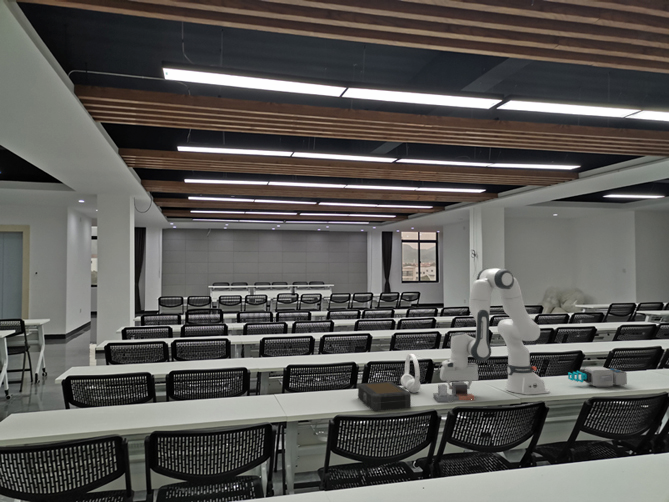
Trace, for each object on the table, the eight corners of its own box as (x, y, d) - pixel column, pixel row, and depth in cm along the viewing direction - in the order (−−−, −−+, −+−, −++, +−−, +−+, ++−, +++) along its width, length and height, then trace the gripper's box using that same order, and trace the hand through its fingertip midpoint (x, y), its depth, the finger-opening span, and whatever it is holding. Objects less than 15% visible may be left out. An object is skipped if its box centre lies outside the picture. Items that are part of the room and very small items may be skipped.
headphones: (423, 394, 248) (422, 356, 249) (409, 394, 247) (408, 357, 248) (411, 385, 268) (411, 350, 269) (398, 385, 267) (398, 351, 268)
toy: (562, 365, 273) (611, 365, 274) (562, 382, 272) (612, 382, 273) (577, 371, 256) (630, 371, 257) (578, 390, 256) (630, 389, 257)
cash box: (356, 398, 242) (356, 383, 242) (392, 395, 247) (391, 380, 248) (372, 412, 218) (372, 396, 218) (412, 408, 223) (411, 392, 224)
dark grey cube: (463, 393, 251) (463, 381, 251) (467, 396, 244) (467, 384, 244) (451, 393, 250) (451, 382, 250) (455, 396, 244) (455, 385, 244)
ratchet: (470, 397, 242) (470, 382, 243) (475, 401, 235) (475, 386, 235) (433, 398, 241) (433, 383, 241) (437, 402, 233) (437, 387, 234)
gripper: (475, 361, 251) (475, 387, 251) (439, 361, 250) (439, 387, 249) (480, 364, 245) (480, 390, 244) (442, 364, 244) (442, 390, 243)
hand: (459, 389), depth 247 cm, fingers open, 8 cm apart
